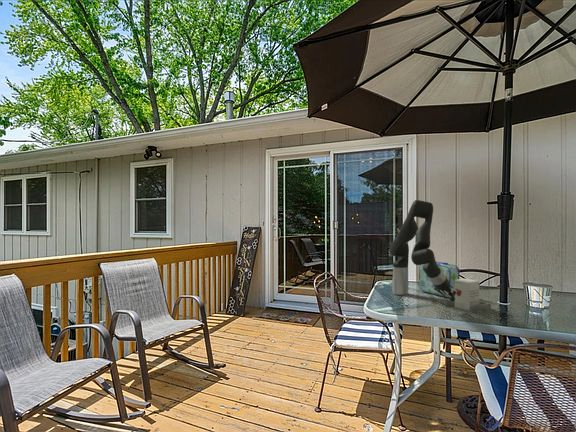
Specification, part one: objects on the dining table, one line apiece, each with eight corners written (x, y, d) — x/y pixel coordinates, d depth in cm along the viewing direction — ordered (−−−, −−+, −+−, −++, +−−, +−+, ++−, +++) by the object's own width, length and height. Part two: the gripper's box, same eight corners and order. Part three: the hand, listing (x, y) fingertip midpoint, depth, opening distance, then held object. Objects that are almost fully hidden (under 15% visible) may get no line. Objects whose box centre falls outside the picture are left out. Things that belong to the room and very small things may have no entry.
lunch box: (462, 297, 211) (462, 263, 211) (450, 299, 206) (450, 264, 206) (428, 289, 234) (428, 258, 235) (417, 291, 230) (416, 259, 230)
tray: (473, 313, 177) (473, 307, 177) (444, 306, 191) (444, 300, 191) (490, 308, 185) (490, 303, 185) (462, 302, 199) (462, 297, 199)
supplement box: (453, 307, 189) (453, 279, 189) (464, 305, 193) (464, 278, 193) (469, 310, 181) (469, 282, 181) (480, 308, 185) (479, 280, 185)
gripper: (453, 274, 171) (468, 296, 177) (430, 271, 182) (444, 292, 188) (446, 286, 168) (462, 308, 174) (423, 282, 179) (438, 303, 185)
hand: (453, 300), depth 181 cm, fingers closed
